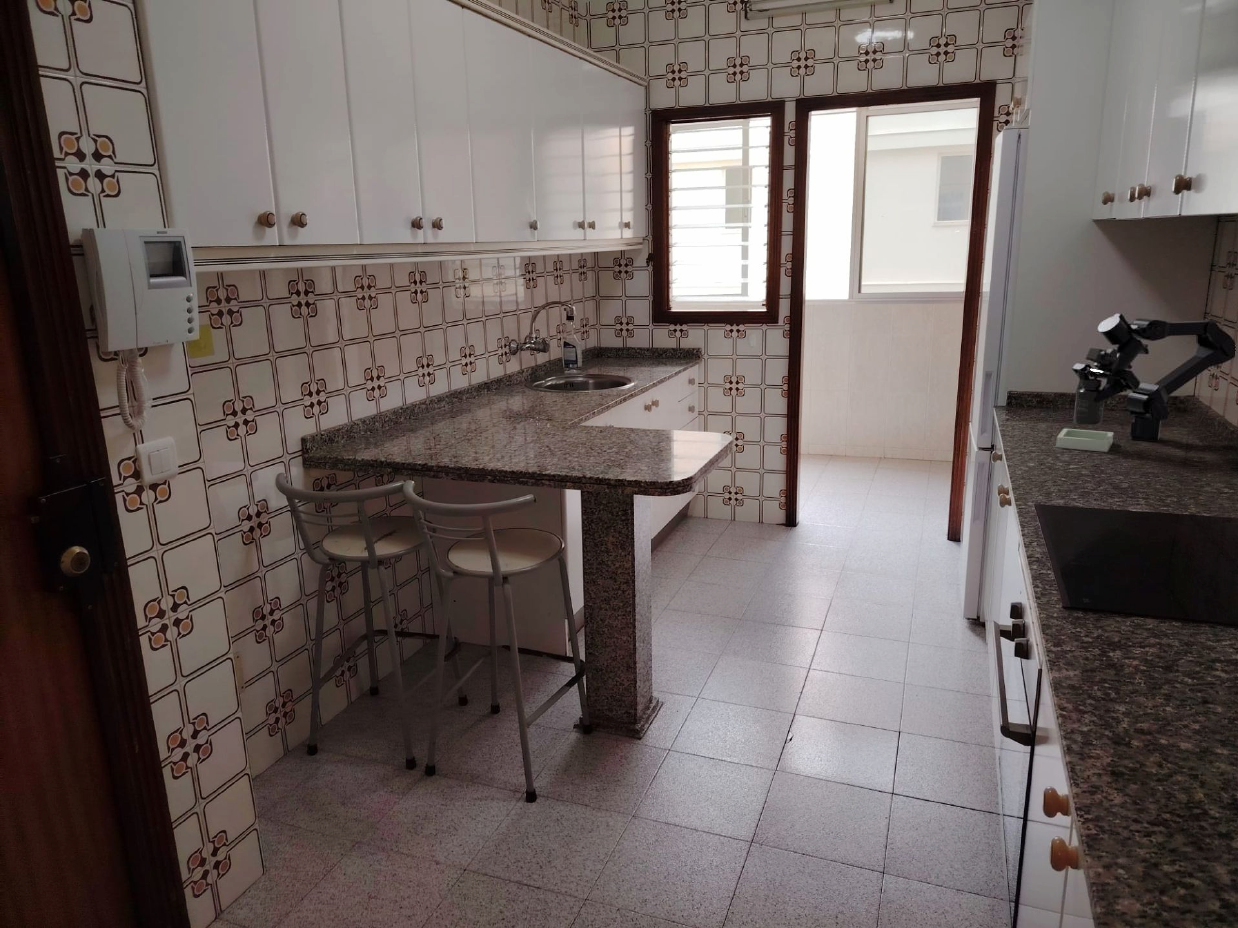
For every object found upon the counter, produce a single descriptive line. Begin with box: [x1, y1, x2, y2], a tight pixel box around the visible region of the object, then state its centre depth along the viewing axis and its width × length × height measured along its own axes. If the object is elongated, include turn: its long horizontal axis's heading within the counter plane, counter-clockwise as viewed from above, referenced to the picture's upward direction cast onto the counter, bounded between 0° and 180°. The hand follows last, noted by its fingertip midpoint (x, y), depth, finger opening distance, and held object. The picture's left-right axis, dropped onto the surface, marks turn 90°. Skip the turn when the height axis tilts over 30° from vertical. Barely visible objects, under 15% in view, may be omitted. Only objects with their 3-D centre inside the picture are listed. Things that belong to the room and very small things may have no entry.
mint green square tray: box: [1055, 427, 1114, 453], centre depth 235 cm, size 12×12×3 cm
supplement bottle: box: [1073, 378, 1105, 426], centre depth 233 cm, size 7×7×12 cm
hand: (1085, 399), depth 232 cm, fingers closed on supplement bottle, 7 cm apart
